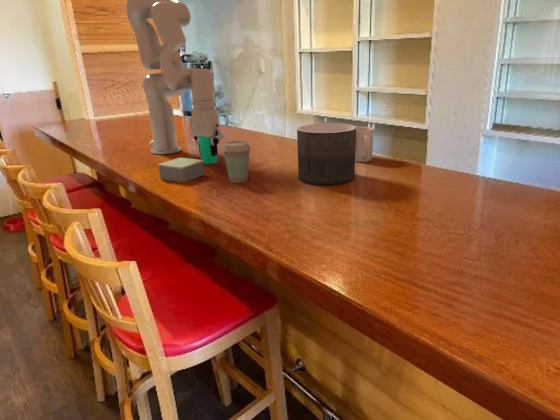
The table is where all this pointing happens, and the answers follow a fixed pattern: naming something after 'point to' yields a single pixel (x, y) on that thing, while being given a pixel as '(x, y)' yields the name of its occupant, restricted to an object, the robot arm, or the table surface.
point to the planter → (326, 153)
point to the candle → (206, 150)
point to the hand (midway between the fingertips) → (208, 154)
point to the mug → (363, 144)
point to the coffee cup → (237, 160)
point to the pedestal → (181, 169)
